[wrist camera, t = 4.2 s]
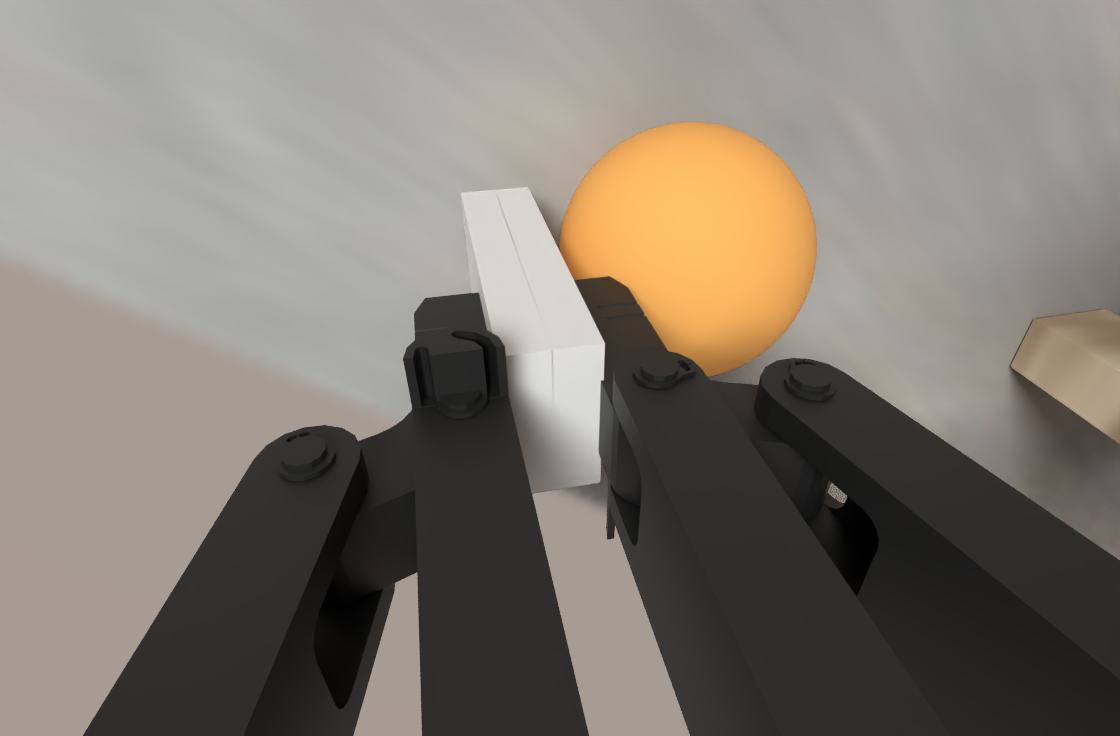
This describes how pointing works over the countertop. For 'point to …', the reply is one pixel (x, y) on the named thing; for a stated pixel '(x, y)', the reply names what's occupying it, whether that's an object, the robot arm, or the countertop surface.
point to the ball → (697, 238)
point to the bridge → (1077, 364)
